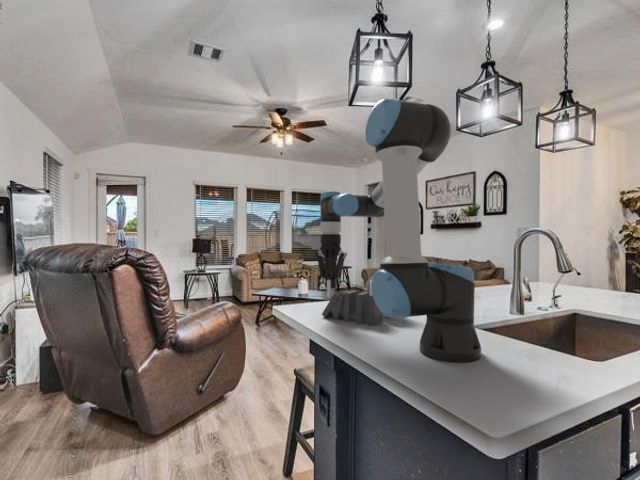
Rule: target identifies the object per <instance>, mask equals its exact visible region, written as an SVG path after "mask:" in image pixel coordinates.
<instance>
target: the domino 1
mask: <svg viewBox="0 0 640 480" xmlns="http://www.w3.org/2000/svg"><path fill="white" fill-rule="evenodd" d="M340 292H341V291H339V292H334V295H333V297H331V298H330V300H329V302H328V303H327V305H326V306H325V308H324V310H323V311H322V313H321V315H322V317H324V319H326V318H329V317H333V314H334V311H335V307H336V304H337V300H338V297H339V293H340Z"/></svg>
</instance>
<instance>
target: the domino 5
mask: <svg viewBox="0 0 640 480" xmlns="http://www.w3.org/2000/svg"><path fill="white" fill-rule="evenodd" d="M383 319H384V317H383V313H382V312H381V311H380V310H379V308H378V306H377V305H376V303H375V301H374V298H373V295H370V296H369V321H368V324H369V325H368V326H371V327H376V326H379V325H380V323H381V324H382V322H383Z"/></svg>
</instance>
